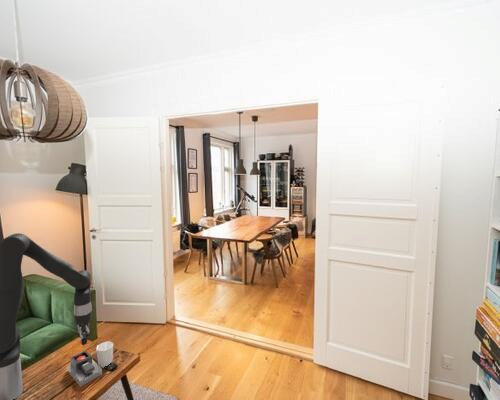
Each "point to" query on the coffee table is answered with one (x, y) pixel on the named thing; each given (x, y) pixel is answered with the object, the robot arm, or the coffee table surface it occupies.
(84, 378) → the grey switch box
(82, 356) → the button
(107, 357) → the white cup
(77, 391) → the coffee table surface
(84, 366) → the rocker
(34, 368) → the coffee table surface
